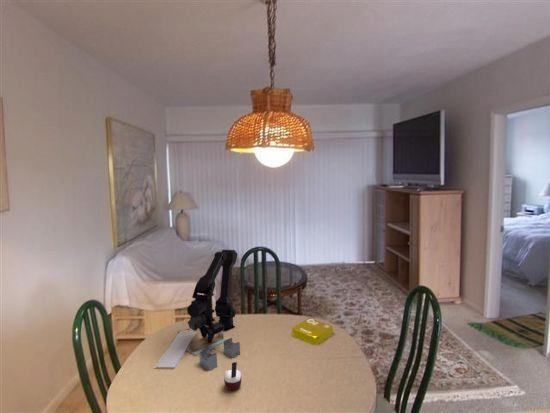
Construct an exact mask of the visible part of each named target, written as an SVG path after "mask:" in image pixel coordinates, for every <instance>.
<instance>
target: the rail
mask: <svg viewBox="0 0 550 413" xmlns="http://www.w3.org/2000/svg"><path fill="white" fill-rule="evenodd" d="M223 338H224V332H223V331H222V332H219V333H217V334H215V335H214V337H213V340H212V342H211V343H209V342H208V336H206V337H204V338H202V337H201V338H200V339H197V340H195V341H192V342H191V343H190V345H189V348H190V351H192V352H193V353H194V352H196V351H198V350H201V349H203V348H205V347H207V346H209V345H212V344H214V343H216V342H218V341H221V340H223Z"/></svg>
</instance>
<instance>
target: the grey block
mask: <svg viewBox="0 0 550 413" xmlns="http://www.w3.org/2000/svg"><path fill="white" fill-rule="evenodd" d="M223 354H224V355H226V356H227V355H228V356H227V357H229V356H230V357H229V358H231V359H232V358H233V359H235V358H238V357H239V356H240V355H241V342H240V341H237V342H234V341H233V338H232V337H229V338H227V339H226V340H225V341H224V343H223ZM238 355H239V356H238Z"/></svg>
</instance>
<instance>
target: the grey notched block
mask: <svg viewBox="0 0 550 413" xmlns="http://www.w3.org/2000/svg"><path fill="white" fill-rule="evenodd" d="M210 351H211V349H210V350H209V349H206V350H204V351H201V352H200V354H199V361H200V363H199V364H200V366H201V367H202V368H203V369H205V370H207V371H208V372H210V371H213V370H214V369H216V368H218V354H217V352H214V353H211V352H210Z"/></svg>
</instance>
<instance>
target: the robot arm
mask: <svg viewBox="0 0 550 413" xmlns="http://www.w3.org/2000/svg"><path fill="white" fill-rule="evenodd" d="M213 256H214V257H213V259H212V260H211V263H210V265H209V266H208V267H207V271H206V273H205V274H204V275H203V276H201V277H200V278H199V279H198V281H197V282H196V284H195V287H194V289H193V294H192V299H193V300H191V302H190V304H189V305H188V306H187V309H186V311H187V314H188V315H189V316H190V318H189V320H188V321H187V325H188V328H189V329H191V331H192V332H197V330H199V333H200V335H201V339H202V338H204V337H206V336H208V342H209V343H211V342H212V340H213V337H214V335H215V334H217V333H219V332H222V333H223V332H228V331H230V330H231V329H234V328H236V326H235V325H234V318H236V314H237V310H236V309H235V307H233V301H232V299H231V288H232V287H231V286H232V276H233V267H234V266H235V264H236V262H237V259H238V252H236V249H222V250H221V251H216V252H215V253H214V254H213ZM221 268H222V270H221ZM220 270H221V282H220V295H219V298H218V299H216V300H215V307H214V309H213V296H214V295H215V293H214V292H215V287H216V279H217V276H218V275H219V272H220ZM213 313H215V315H216V316H215V317H218V318H219V319H218V322H217V321H216V320H215V318H214V317H213V315H214V314H213ZM215 321H216V322H215Z"/></svg>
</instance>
